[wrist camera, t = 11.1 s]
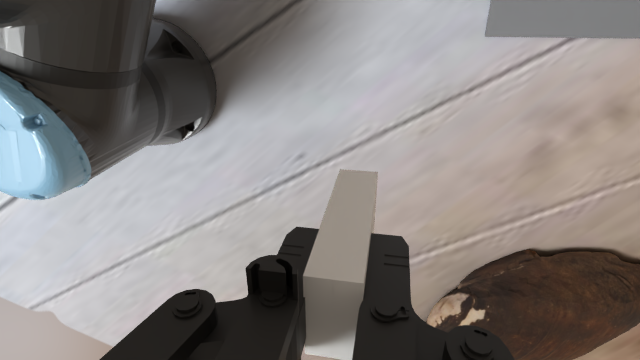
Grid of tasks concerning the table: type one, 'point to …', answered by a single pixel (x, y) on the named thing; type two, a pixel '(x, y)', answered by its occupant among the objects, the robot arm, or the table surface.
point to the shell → (546, 302)
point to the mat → (564, 18)
